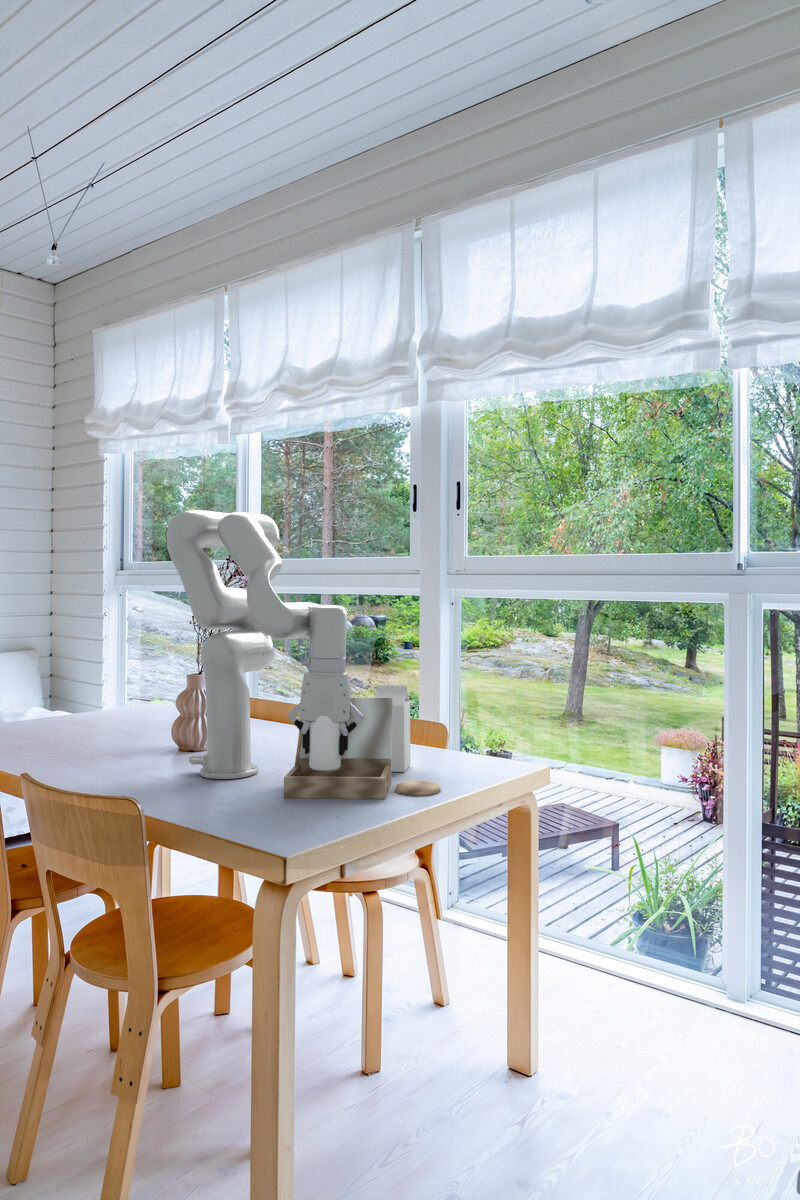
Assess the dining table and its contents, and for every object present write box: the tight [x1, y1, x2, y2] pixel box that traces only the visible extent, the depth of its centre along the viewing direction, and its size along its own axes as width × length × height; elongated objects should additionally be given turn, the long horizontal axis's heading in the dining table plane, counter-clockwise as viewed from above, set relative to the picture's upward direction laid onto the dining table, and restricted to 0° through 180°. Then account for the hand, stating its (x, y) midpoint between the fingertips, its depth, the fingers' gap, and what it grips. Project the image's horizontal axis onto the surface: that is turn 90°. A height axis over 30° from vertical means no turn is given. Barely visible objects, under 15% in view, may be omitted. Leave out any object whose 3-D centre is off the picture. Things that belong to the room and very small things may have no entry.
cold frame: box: [283, 697, 393, 800], centre depth 165 cm, size 20×18×17 cm
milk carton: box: [373, 684, 411, 773], centre depth 181 cm, size 7×7×19 cm
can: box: [309, 712, 341, 772], centre depth 163 cm, size 6×6×12 cm
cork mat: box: [395, 780, 441, 797], centre depth 162 cm, size 9×9×1 cm
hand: (325, 752), depth 163 cm, fingers closed on can, 6 cm apart
